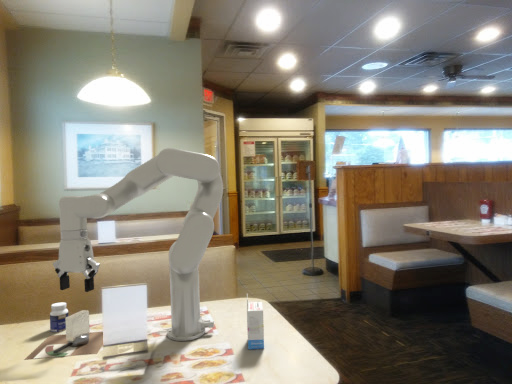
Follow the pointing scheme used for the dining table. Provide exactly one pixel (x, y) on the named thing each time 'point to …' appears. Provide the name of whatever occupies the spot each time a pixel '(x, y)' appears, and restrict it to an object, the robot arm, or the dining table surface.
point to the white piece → (76, 330)
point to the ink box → (255, 325)
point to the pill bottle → (58, 317)
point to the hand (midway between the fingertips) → (77, 289)
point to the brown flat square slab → (60, 340)
